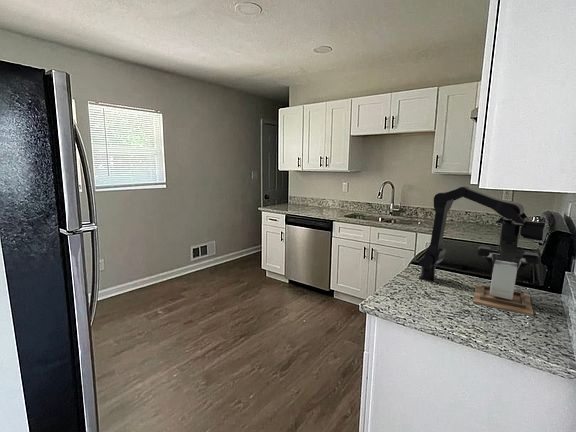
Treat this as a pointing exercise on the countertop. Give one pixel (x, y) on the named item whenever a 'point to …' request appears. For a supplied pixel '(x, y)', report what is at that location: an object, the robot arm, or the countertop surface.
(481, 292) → the wooden tray
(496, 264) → the supplement box
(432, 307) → the countertop surface
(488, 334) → the countertop surface
